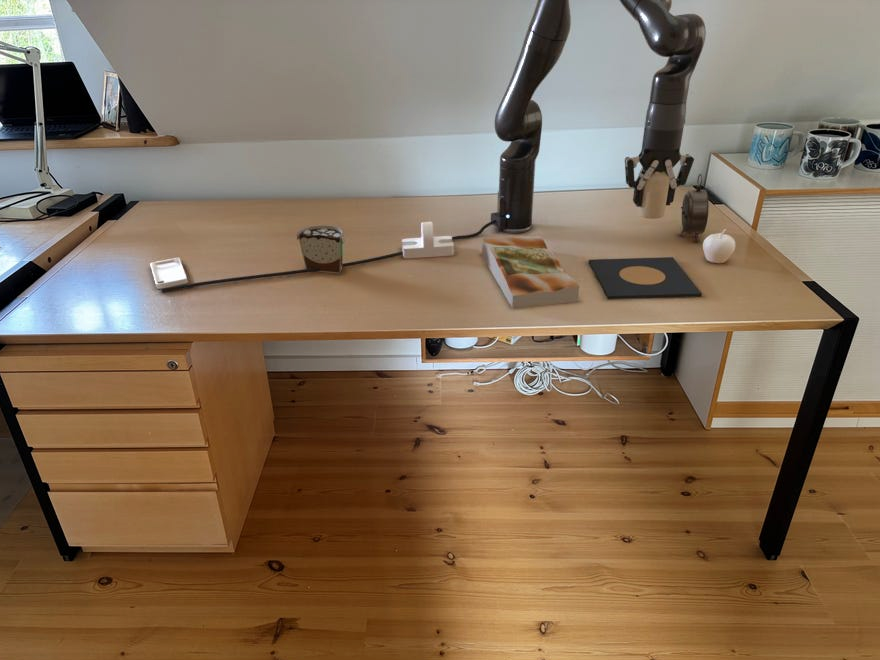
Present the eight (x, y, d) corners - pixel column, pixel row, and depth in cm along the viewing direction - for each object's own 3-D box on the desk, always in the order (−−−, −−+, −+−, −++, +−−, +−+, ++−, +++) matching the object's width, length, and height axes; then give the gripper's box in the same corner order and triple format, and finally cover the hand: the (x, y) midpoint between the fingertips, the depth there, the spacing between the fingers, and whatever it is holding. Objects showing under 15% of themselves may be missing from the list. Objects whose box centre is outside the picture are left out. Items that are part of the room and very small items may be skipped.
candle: (665, 212, 147) (672, 166, 142) (662, 220, 143) (670, 173, 138) (639, 209, 149) (645, 164, 144) (635, 217, 145) (642, 171, 140)
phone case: (188, 283, 163) (180, 261, 175) (187, 278, 162) (179, 257, 174) (157, 289, 161) (151, 267, 172) (155, 284, 160) (149, 262, 172)
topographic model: (481, 254, 169) (482, 236, 167) (537, 249, 171) (538, 231, 168) (512, 307, 144) (513, 286, 142) (577, 301, 145) (579, 280, 143)
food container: (355, 264, 168) (352, 226, 163) (346, 274, 163) (342, 235, 158) (311, 260, 172) (306, 222, 166) (300, 269, 167) (295, 231, 162)
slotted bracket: (403, 258, 170) (402, 229, 166) (402, 248, 176) (400, 219, 172) (454, 255, 170) (454, 226, 166) (451, 245, 176) (451, 216, 172)
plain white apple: (717, 268, 156) (725, 236, 152) (693, 258, 162) (699, 227, 157) (738, 262, 159) (746, 230, 155) (714, 252, 164) (720, 221, 160)
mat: (607, 299, 146) (608, 295, 145) (588, 262, 163) (588, 259, 162) (701, 296, 145) (702, 293, 144) (672, 260, 162) (672, 256, 161)
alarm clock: (703, 244, 169) (716, 180, 160) (681, 243, 170) (692, 180, 161) (696, 228, 178) (708, 167, 169) (675, 228, 179) (685, 167, 170)
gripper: (693, 118, 139) (680, 198, 148) (623, 122, 140) (614, 200, 149) (707, 127, 133) (691, 209, 142) (633, 130, 133) (623, 212, 142)
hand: (652, 204), depth 145 cm, fingers closed on candle, 5 cm apart
